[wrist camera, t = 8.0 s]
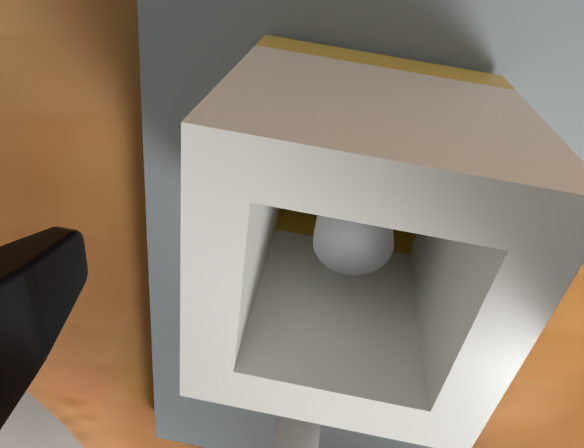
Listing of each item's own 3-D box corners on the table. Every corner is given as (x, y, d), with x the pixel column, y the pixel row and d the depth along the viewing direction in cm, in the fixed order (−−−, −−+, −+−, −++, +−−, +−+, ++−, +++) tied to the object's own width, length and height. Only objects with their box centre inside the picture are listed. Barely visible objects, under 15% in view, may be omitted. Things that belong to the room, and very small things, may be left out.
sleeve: (430, 264, 14) (467, 454, 9) (246, 229, 14) (179, 395, 9) (502, 75, 11) (620, 201, 6) (265, 34, 11) (181, 121, 6)
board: (418, 470, 21) (430, 602, 17) (163, 417, 22) (115, 533, 18) (666, -11, 11) (865, 29, 6) (150, -94, 11) (17, -109, 7)
